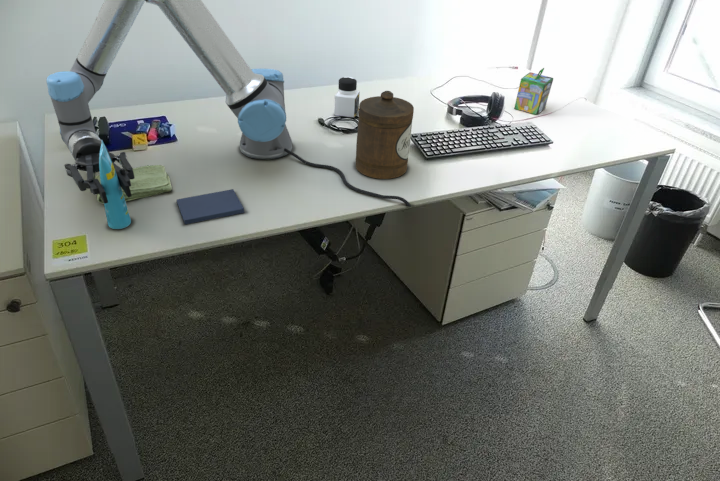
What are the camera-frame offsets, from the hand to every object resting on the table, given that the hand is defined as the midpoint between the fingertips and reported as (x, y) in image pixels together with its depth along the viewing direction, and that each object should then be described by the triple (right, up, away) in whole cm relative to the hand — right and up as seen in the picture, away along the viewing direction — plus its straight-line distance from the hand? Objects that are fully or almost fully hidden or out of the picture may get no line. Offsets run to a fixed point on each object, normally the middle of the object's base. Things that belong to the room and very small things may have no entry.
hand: (116, 194), depth 110 cm
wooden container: (+57, +11, +38) cm, 70 cm away
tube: (-4, -6, +10) cm, 12 cm away
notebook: (+15, -2, +17) cm, 23 cm away
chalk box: (+114, +38, +81) cm, 145 cm away
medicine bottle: (+47, +34, +70) cm, 91 cm away
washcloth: (-6, +3, +23) cm, 24 cm away
